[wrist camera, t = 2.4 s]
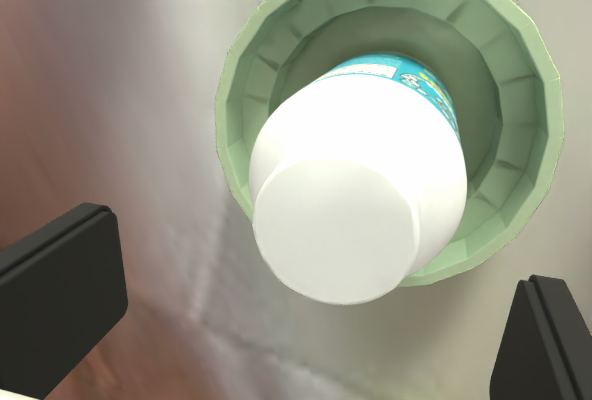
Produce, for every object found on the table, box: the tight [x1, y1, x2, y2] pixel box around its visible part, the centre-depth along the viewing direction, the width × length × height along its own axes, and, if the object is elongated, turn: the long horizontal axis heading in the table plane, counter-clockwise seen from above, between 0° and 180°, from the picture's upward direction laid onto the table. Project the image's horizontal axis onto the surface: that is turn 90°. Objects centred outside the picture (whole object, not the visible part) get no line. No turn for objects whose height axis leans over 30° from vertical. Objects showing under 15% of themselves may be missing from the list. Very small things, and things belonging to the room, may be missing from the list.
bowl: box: [215, 0, 565, 288], centre depth 23 cm, size 15×15×5 cm
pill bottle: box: [249, 51, 467, 305], centre depth 19 cm, size 8×7×14 cm
